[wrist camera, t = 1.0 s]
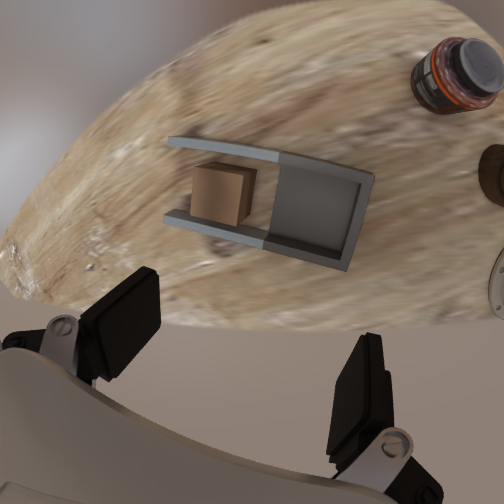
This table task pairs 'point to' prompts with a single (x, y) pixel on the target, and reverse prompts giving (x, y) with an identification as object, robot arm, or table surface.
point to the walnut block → (222, 192)
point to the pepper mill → (493, 173)
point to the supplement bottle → (458, 76)
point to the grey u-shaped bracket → (294, 206)
